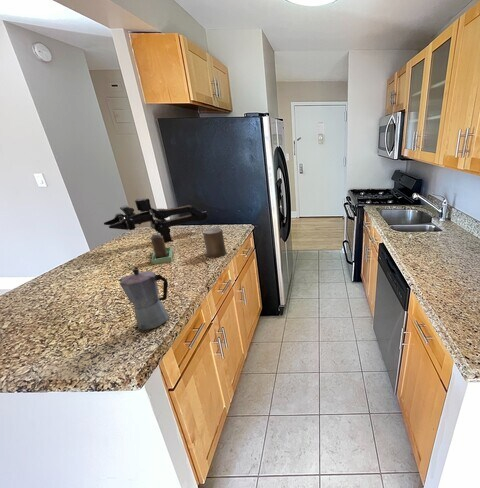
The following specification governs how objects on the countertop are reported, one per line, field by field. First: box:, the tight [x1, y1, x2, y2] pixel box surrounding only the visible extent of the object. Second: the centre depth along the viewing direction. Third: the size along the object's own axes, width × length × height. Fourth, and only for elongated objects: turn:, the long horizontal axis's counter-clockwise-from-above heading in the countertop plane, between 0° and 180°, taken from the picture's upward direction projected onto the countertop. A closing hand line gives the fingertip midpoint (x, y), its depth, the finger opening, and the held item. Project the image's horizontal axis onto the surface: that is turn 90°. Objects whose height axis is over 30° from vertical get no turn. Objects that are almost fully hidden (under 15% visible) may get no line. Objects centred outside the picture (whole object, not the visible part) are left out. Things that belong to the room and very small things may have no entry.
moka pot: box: [117, 268, 169, 331], centre depth 85 cm, size 10×15×20 cm, turn 95°
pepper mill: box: [150, 232, 168, 259], centre depth 131 cm, size 5×5×14 cm
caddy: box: [150, 246, 173, 265], centre depth 137 cm, size 16×8×3 cm, turn 28°
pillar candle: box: [202, 227, 227, 258], centre depth 139 cm, size 10×10×15 cm
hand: (106, 225), depth 136 cm, fingers open, 9 cm apart
